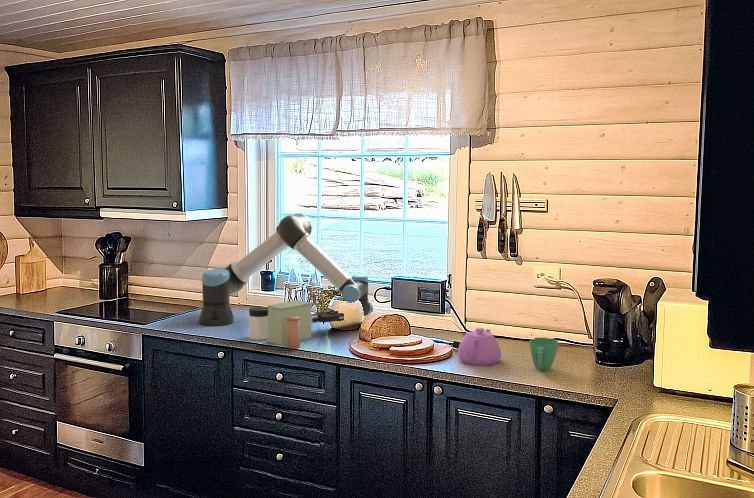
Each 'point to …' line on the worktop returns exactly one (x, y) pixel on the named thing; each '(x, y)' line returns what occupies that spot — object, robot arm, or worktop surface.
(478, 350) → the teapot
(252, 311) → the jar
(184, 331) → the worktop surface
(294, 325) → the rust tin
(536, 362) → the mug
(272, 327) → the green tin
